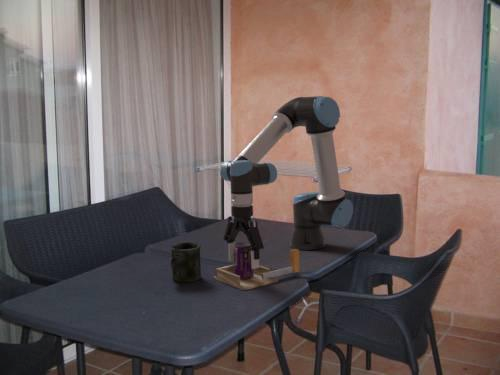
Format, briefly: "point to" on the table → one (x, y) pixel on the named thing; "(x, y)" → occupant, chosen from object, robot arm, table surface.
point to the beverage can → (242, 260)
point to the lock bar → (294, 268)
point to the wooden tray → (234, 280)
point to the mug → (186, 262)
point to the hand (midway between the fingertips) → (243, 264)
